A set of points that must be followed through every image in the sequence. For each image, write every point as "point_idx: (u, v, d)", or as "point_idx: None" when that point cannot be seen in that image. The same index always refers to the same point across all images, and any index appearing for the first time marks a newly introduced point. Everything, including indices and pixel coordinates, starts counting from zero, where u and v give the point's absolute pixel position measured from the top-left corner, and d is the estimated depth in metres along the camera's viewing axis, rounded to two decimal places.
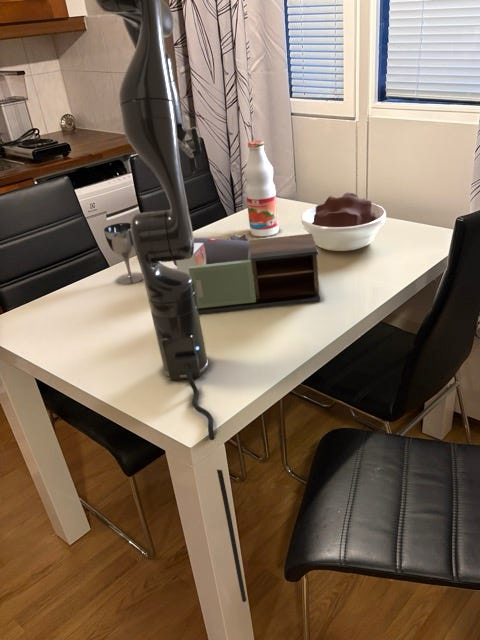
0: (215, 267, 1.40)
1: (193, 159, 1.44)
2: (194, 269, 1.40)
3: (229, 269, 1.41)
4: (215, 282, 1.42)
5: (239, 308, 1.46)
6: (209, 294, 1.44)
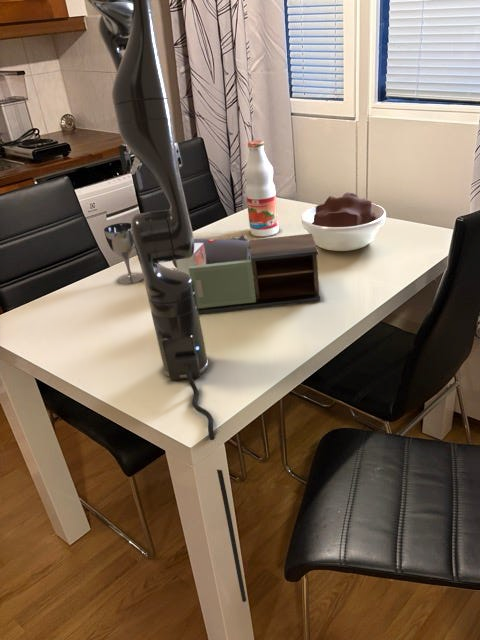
0: (215, 267, 1.40)
1: None
2: (194, 269, 1.40)
3: (229, 269, 1.41)
4: (215, 282, 1.42)
5: (239, 308, 1.46)
6: (209, 294, 1.44)
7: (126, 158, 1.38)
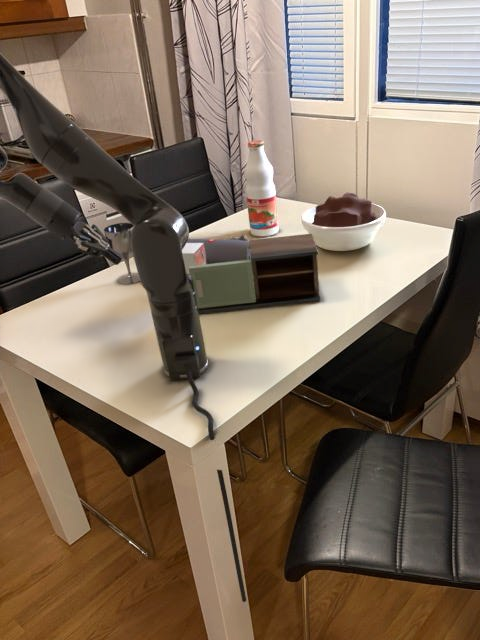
0: (215, 267, 1.40)
1: None
2: (194, 269, 1.40)
3: (229, 269, 1.41)
4: (215, 282, 1.42)
5: (239, 308, 1.46)
6: (209, 294, 1.44)
7: None
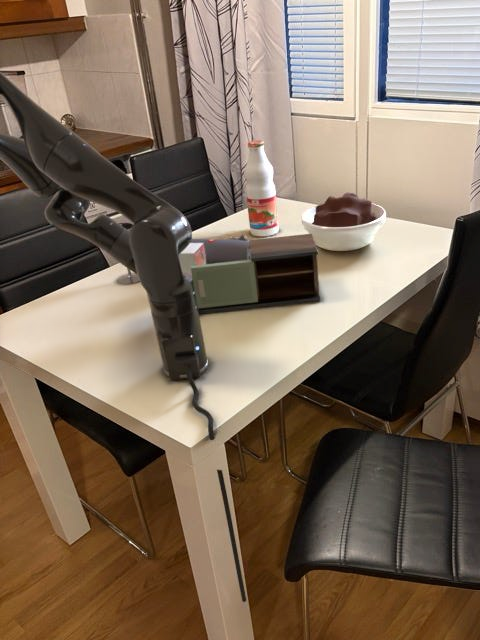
0: (217, 267, 1.40)
1: None
2: (196, 269, 1.40)
3: (232, 269, 1.41)
4: (217, 282, 1.42)
5: (239, 308, 1.46)
6: (211, 293, 1.44)
7: None
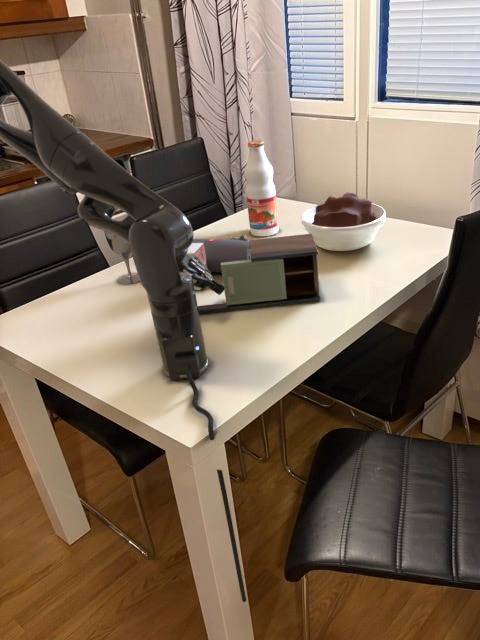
0: (247, 264, 1.41)
1: None
2: (226, 266, 1.40)
3: (261, 266, 1.41)
4: (247, 279, 1.43)
5: (239, 308, 1.46)
6: (240, 290, 1.44)
7: None
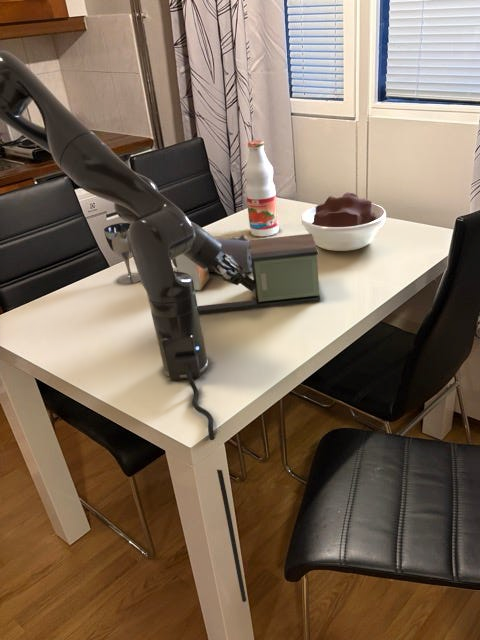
0: (280, 260, 1.41)
1: None
2: (259, 262, 1.41)
3: (294, 262, 1.41)
4: (279, 275, 1.43)
5: (239, 308, 1.46)
6: (273, 287, 1.44)
7: None
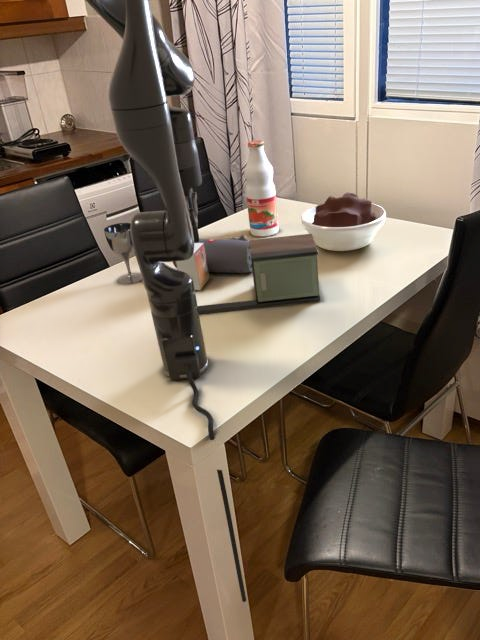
0: (279, 260, 1.41)
1: None
2: (259, 262, 1.41)
3: (294, 262, 1.41)
4: (279, 275, 1.43)
5: (239, 308, 1.46)
6: (272, 287, 1.44)
7: None
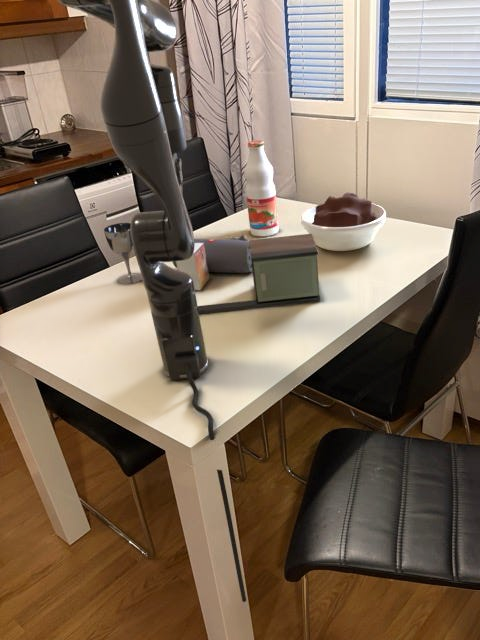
0: (279, 260, 1.41)
1: None
2: (259, 262, 1.41)
3: (294, 262, 1.41)
4: (279, 275, 1.43)
5: (239, 308, 1.46)
6: (272, 287, 1.44)
7: None
